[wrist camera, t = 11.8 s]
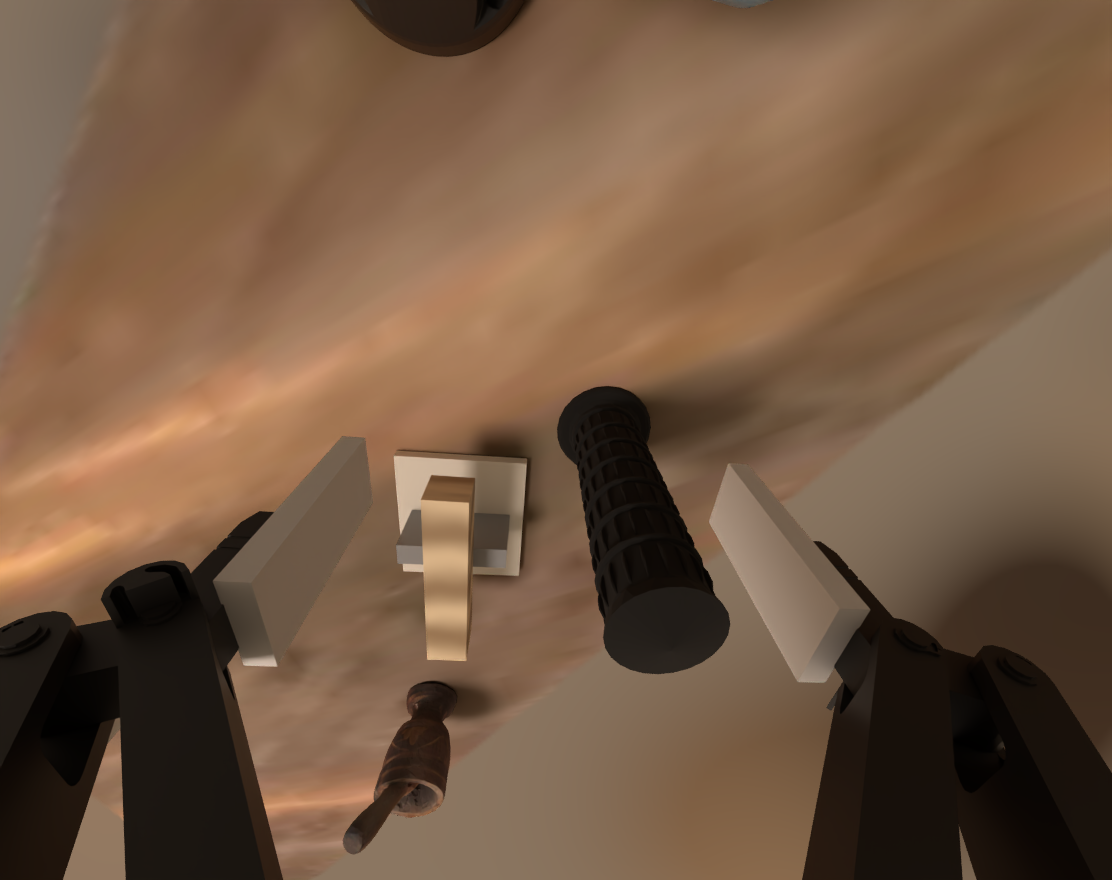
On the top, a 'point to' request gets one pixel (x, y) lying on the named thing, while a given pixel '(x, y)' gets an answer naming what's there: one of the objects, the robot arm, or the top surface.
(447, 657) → the maple bar
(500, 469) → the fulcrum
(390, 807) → the mortar and pestle
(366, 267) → the top surface
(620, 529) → the handle grip
